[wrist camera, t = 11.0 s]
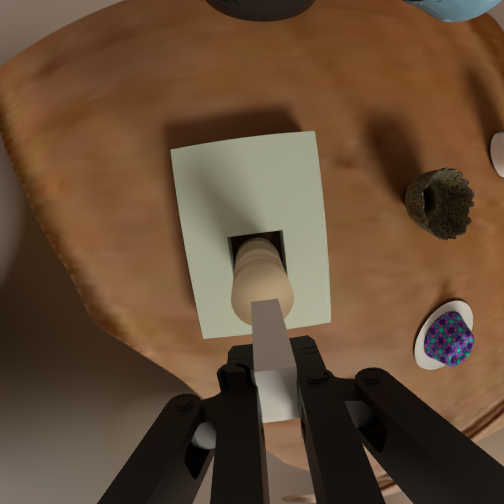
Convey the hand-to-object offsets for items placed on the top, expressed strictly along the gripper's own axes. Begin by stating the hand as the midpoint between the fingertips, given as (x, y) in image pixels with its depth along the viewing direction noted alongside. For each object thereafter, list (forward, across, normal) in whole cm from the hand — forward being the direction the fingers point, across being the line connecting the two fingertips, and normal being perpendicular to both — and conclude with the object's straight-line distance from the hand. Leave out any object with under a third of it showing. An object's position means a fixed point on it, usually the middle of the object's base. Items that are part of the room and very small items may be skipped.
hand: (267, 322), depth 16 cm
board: (+17, 0, +2) cm, 17 cm away
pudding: (+18, +27, -17) cm, 37 cm away
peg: (+17, 0, 0) cm, 17 cm away
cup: (+18, +20, +4) cm, 27 cm away
